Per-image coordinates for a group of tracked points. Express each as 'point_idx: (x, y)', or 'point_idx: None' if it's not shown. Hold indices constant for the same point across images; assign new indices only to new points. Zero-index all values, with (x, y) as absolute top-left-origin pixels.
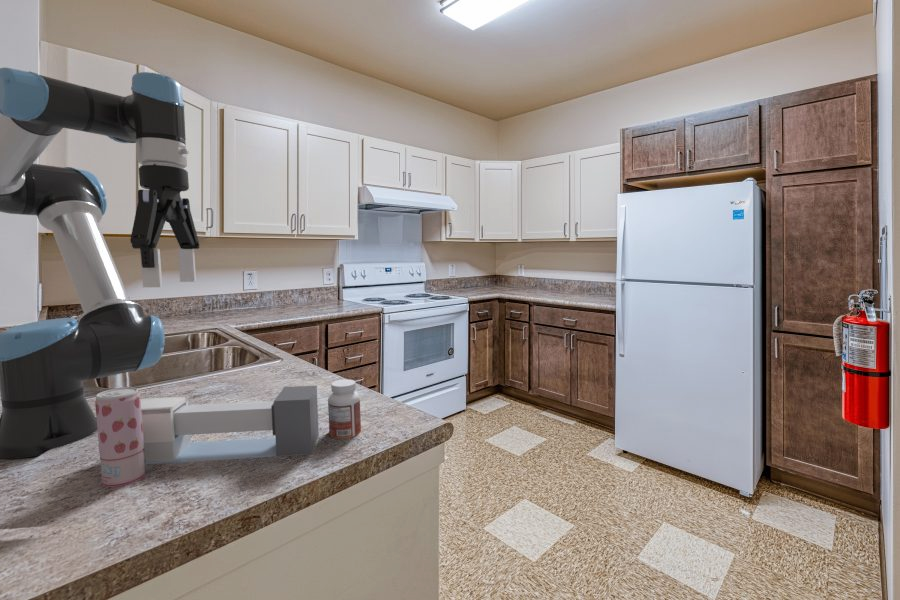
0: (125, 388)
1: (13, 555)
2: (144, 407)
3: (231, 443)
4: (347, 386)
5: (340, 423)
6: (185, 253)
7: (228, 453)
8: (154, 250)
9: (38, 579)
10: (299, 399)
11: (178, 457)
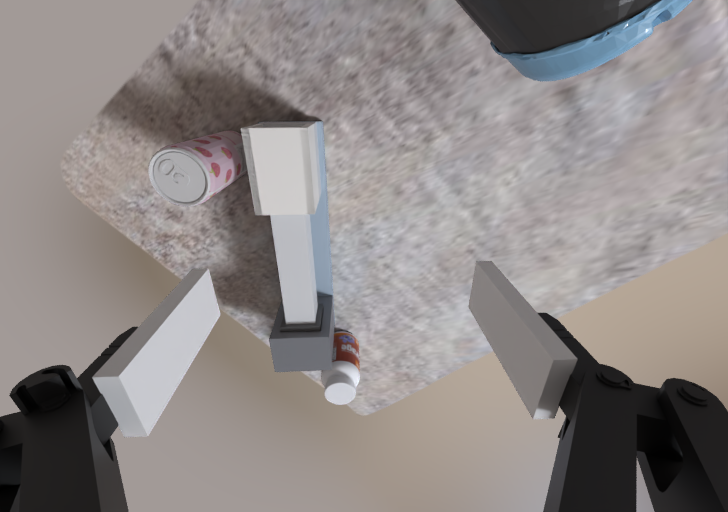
0: (205, 176)
1: (95, 124)
2: (259, 173)
3: (319, 241)
4: (326, 398)
5: None
6: (530, 370)
7: None
8: (123, 421)
9: (76, 173)
10: (275, 362)
11: None
